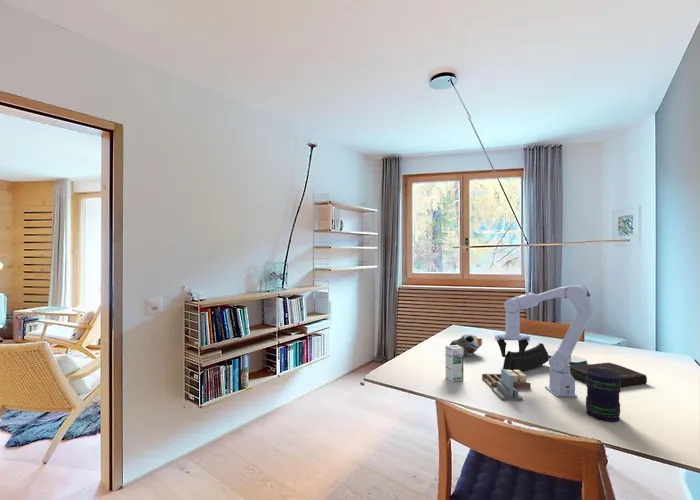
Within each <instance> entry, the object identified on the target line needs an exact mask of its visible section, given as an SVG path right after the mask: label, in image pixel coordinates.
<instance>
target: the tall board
mask: <svg viewBox="0 0 700 500" xmlns="http://www.w3.org/2000/svg"><path fill="white" fill-rule="evenodd" d="M500 374H501V384H502V385H503V386H505V387H506V388H507V389H508V390H509V391H510V397H513V375H512V374H510V373H509V372H508V371H507V370H505V369H503V368H500Z"/></svg>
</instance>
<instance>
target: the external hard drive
mask: <svg viewBox="0 0 700 500" xmlns="http://www.w3.org/2000/svg"><path fill="white" fill-rule="evenodd" d="M546 351H547V352H548V358H549V359H550V357H551V356H553V355H554V354H555V353H556V351H557V350H555V349H549V348H546ZM587 363H588V360H587V359H586V358H582V357H579V356H576V355H573V354H571V362H570V364H569V365H588V364H587Z"/></svg>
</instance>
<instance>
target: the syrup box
mask: <svg viewBox="0 0 700 500" xmlns="http://www.w3.org/2000/svg"><path fill="white" fill-rule="evenodd" d="M444 355H445V378H446V379H447V378H448V379H447V380H449V381H450V380H451V381H450V382H453V383H454V382H460V381H461V382H462V381H464V356H463V347H461V346H459V345H450V344H449V345H445V353H444Z"/></svg>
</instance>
